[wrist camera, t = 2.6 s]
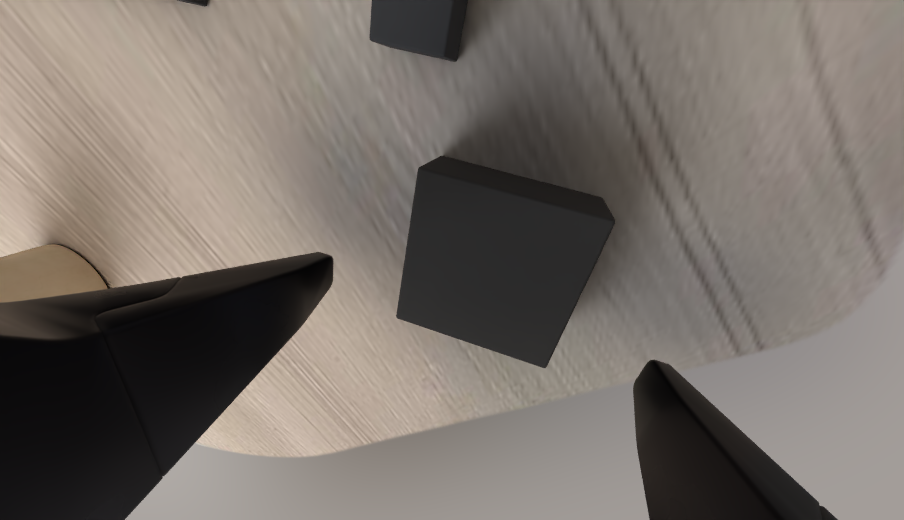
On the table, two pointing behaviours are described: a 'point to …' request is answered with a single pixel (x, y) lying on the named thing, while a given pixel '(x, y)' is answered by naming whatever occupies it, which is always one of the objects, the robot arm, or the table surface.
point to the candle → (46, 274)
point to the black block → (498, 257)
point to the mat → (415, 25)
